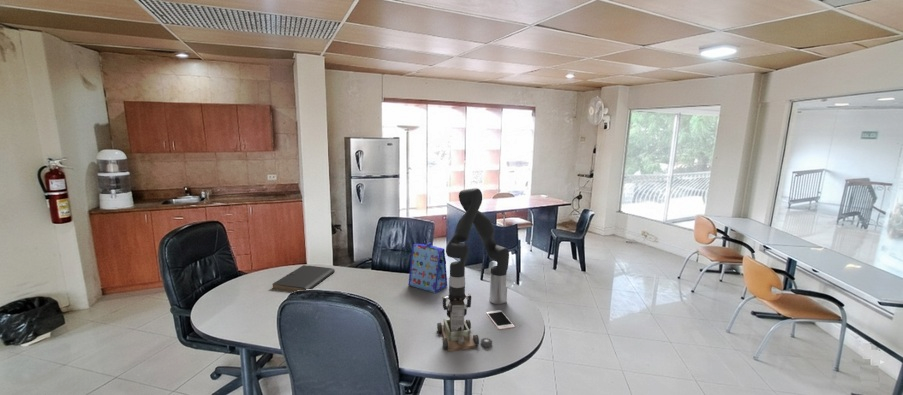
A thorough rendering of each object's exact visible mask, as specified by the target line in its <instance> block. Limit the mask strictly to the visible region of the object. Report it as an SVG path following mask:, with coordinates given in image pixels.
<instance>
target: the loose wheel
mask: <svg viewBox="0 0 903 395" xmlns="http://www.w3.org/2000/svg"><path fill="white" fill-rule="evenodd" d="M492 344H493V340H492V339H491V338H489V337H484V338H481V340H480V346H481V347H482V348H485V349H490V348H491V347H493V346H492Z"/></svg>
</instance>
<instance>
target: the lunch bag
mask: <svg viewBox="0 0 903 395" xmlns="http://www.w3.org/2000/svg"><path fill="white" fill-rule="evenodd" d="M412 245H413V246H412V250H411V257H410V266H409V276H408V285H409V286H411V287H414V288H418V289H420V290H424V291H427V292H430V293H433V294H437V293H438V292H439V291H441V290H442V289H445V288H447V287H448V276H447V259H446V254H445V253H446V249H445V248H442V247H438V246H435V245H432V242H427V243H426V244H423V243H414V244H412Z"/></svg>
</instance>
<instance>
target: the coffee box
mask: <svg viewBox="0 0 903 395" xmlns="http://www.w3.org/2000/svg"><path fill="white" fill-rule="evenodd" d="M449 301H450V300H449ZM464 303H465V299H464V300H463V301H459V300H456V301H450V304H451V309H450V318H449V319H450V331H451V332H454V331H464V320H465V316H464Z"/></svg>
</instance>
